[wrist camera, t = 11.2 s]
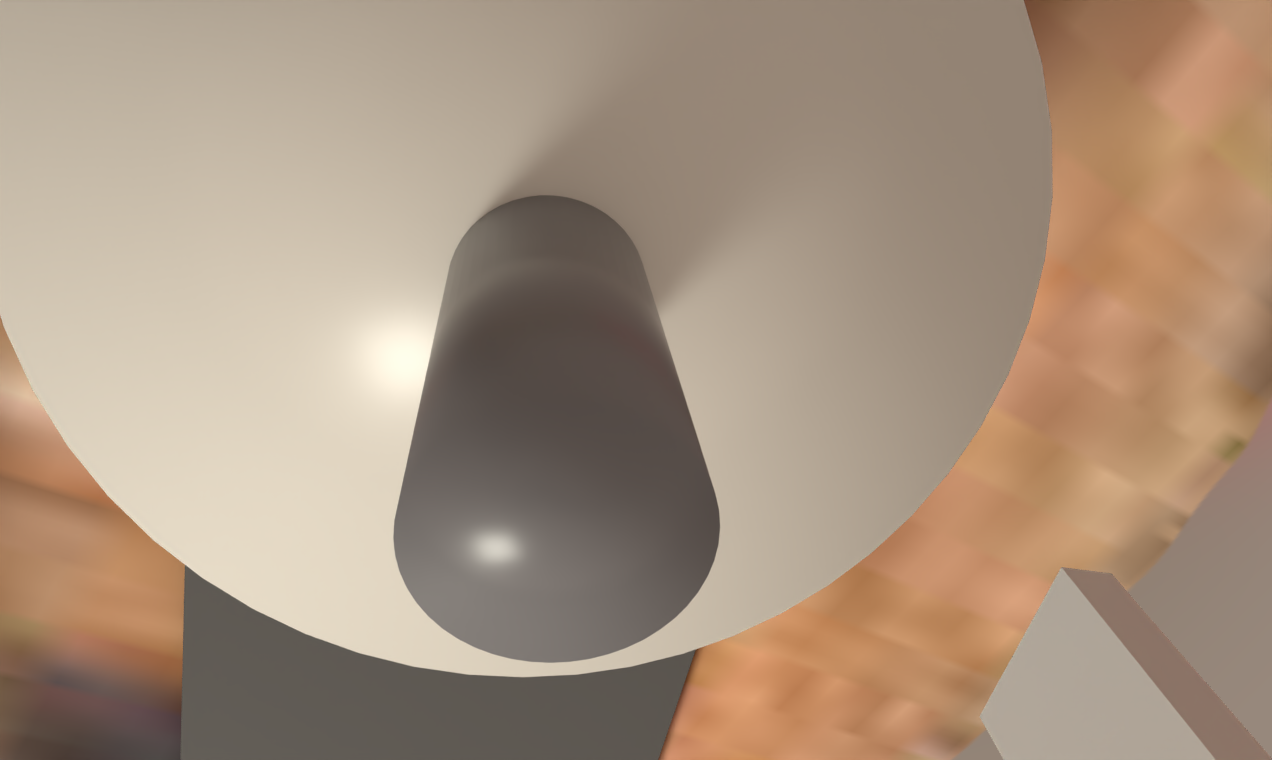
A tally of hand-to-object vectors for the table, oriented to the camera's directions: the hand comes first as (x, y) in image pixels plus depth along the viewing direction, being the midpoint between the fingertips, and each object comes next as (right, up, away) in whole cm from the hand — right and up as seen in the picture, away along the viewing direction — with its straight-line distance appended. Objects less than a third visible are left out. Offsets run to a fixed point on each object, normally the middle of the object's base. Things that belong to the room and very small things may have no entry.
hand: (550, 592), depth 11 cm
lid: (-1, +5, +10) cm, 12 cm away
